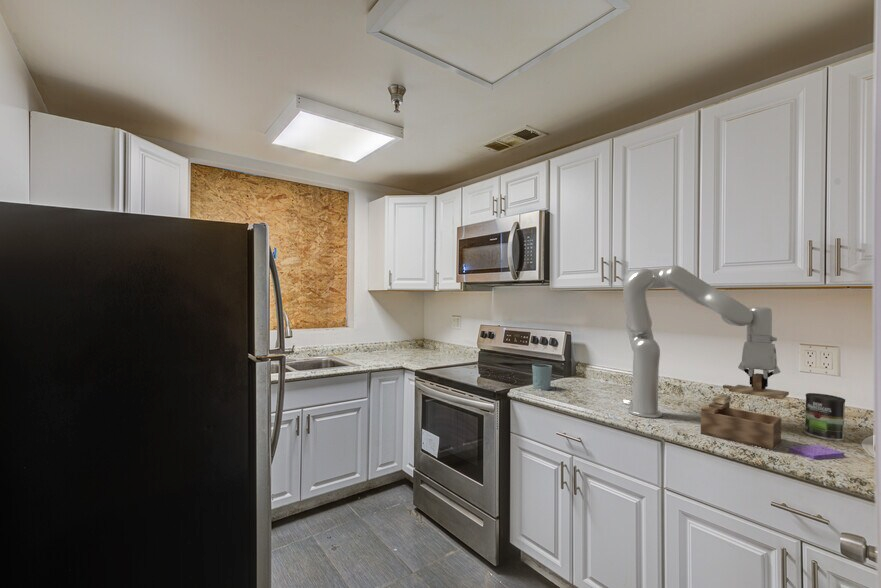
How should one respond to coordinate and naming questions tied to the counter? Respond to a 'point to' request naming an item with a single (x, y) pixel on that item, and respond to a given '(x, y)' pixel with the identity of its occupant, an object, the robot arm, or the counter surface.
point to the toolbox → (740, 426)
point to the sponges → (817, 452)
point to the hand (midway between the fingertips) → (758, 387)
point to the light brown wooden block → (721, 399)
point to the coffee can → (825, 416)
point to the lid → (757, 389)
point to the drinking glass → (541, 376)
